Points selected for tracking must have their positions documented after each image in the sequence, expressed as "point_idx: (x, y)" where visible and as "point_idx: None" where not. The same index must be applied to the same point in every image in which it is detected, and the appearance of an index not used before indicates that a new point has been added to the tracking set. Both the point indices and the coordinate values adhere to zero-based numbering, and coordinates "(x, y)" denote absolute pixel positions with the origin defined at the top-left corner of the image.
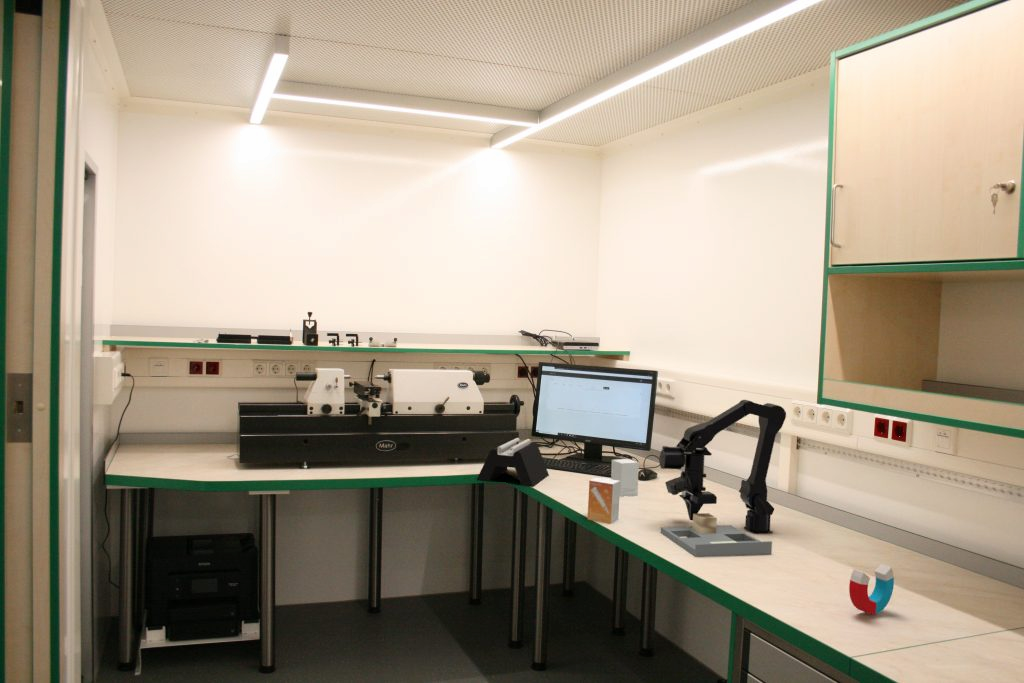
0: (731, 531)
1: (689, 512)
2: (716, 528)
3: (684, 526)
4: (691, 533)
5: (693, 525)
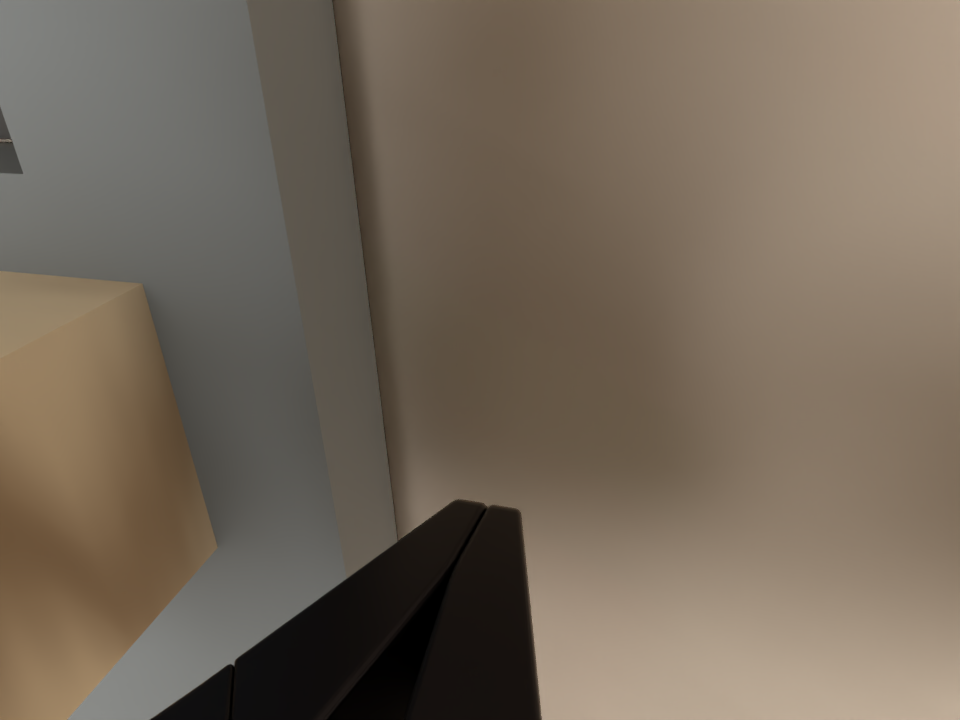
0: (117, 696)
1: (436, 635)
2: (220, 640)
3: (277, 197)
4: (17, 162)
5: (50, 313)
